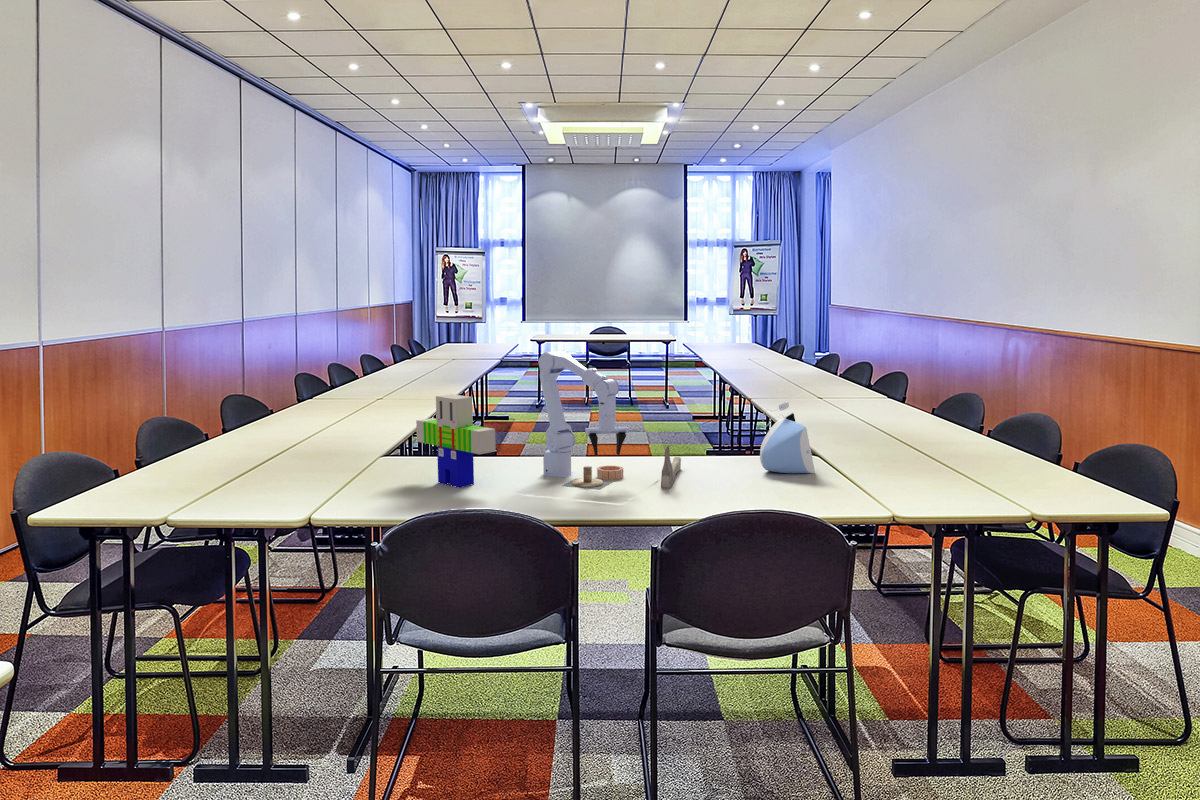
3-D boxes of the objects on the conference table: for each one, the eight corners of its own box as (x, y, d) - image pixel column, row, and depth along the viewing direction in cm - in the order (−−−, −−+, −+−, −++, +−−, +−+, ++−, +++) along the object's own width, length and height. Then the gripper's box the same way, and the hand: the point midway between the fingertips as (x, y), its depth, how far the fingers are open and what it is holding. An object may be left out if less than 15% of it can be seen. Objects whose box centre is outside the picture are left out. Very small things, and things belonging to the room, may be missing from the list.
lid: (567, 485, 302) (567, 468, 301) (579, 479, 311) (579, 462, 311) (595, 488, 298) (595, 471, 297) (607, 481, 307) (607, 465, 307)
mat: (561, 487, 302) (561, 485, 302) (575, 480, 313) (575, 478, 313) (600, 491, 297) (600, 489, 297) (613, 483, 308) (613, 481, 307)
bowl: (593, 479, 313) (593, 469, 313) (603, 474, 321) (603, 464, 321) (617, 482, 310) (617, 471, 309) (626, 476, 318) (626, 466, 317)
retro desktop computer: (789, 397, 336) (823, 402, 322) (800, 454, 342) (834, 461, 328) (740, 423, 323) (773, 429, 309) (753, 481, 330) (786, 490, 316)
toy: (418, 477, 317) (415, 393, 313) (433, 474, 322) (431, 391, 318) (480, 493, 294) (478, 402, 290) (496, 489, 299) (494, 400, 295)
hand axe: (669, 490, 298) (670, 449, 296) (659, 490, 298) (660, 448, 297) (682, 472, 332) (682, 435, 331) (673, 471, 333) (673, 434, 331)
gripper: (588, 417, 298) (588, 457, 300) (630, 416, 301) (630, 456, 303) (584, 414, 305) (584, 453, 307) (626, 413, 308) (625, 452, 310)
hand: (607, 454), depth 306 cm, fingers open, 7 cm apart
